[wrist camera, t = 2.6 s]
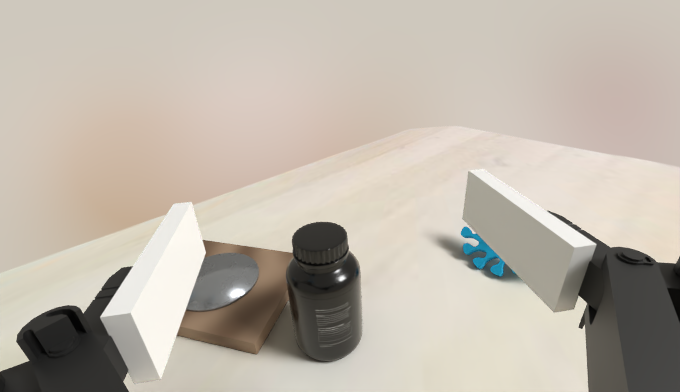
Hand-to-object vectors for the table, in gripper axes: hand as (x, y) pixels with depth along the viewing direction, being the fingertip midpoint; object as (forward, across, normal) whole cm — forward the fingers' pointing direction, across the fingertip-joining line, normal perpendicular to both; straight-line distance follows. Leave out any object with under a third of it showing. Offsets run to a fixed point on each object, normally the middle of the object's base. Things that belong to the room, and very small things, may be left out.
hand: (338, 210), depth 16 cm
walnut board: (+19, -13, -20) cm, 30 cm away
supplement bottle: (+10, -1, -20) cm, 23 cm away
